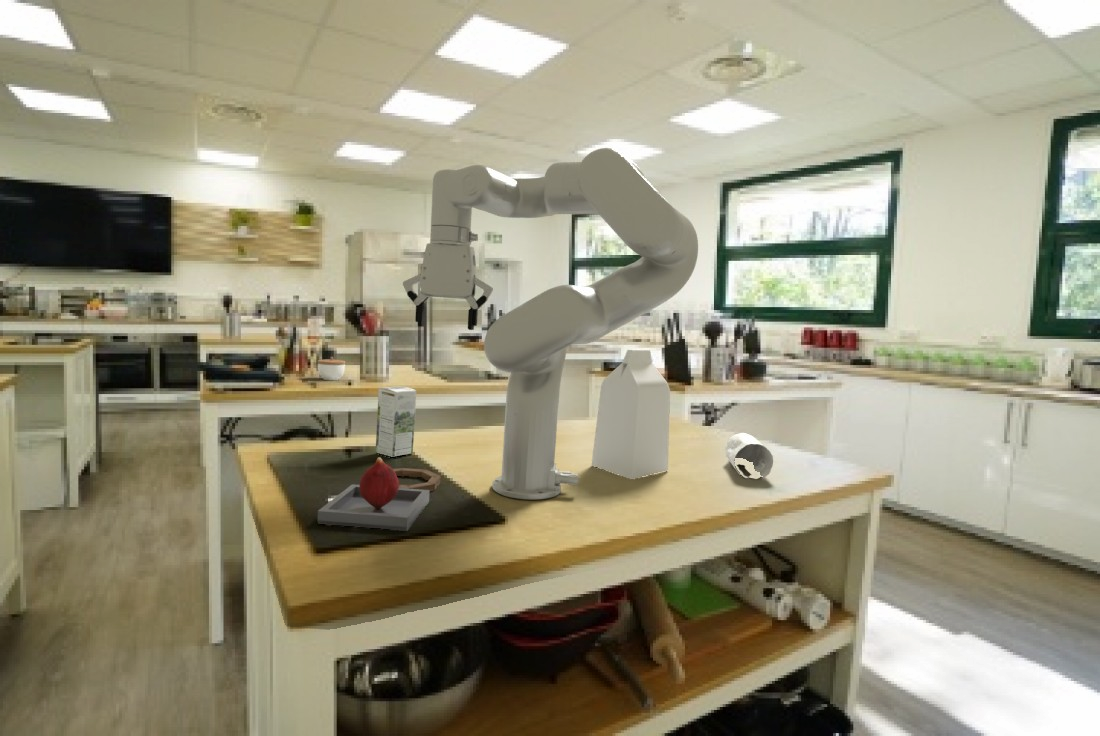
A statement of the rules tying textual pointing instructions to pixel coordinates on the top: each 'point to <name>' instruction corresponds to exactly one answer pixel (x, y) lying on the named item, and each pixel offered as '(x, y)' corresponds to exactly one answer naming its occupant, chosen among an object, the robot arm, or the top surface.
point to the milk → (633, 419)
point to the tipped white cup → (749, 452)
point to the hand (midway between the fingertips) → (446, 328)
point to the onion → (379, 484)
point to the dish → (374, 509)
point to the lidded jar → (331, 369)
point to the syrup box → (395, 421)
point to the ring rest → (426, 474)
